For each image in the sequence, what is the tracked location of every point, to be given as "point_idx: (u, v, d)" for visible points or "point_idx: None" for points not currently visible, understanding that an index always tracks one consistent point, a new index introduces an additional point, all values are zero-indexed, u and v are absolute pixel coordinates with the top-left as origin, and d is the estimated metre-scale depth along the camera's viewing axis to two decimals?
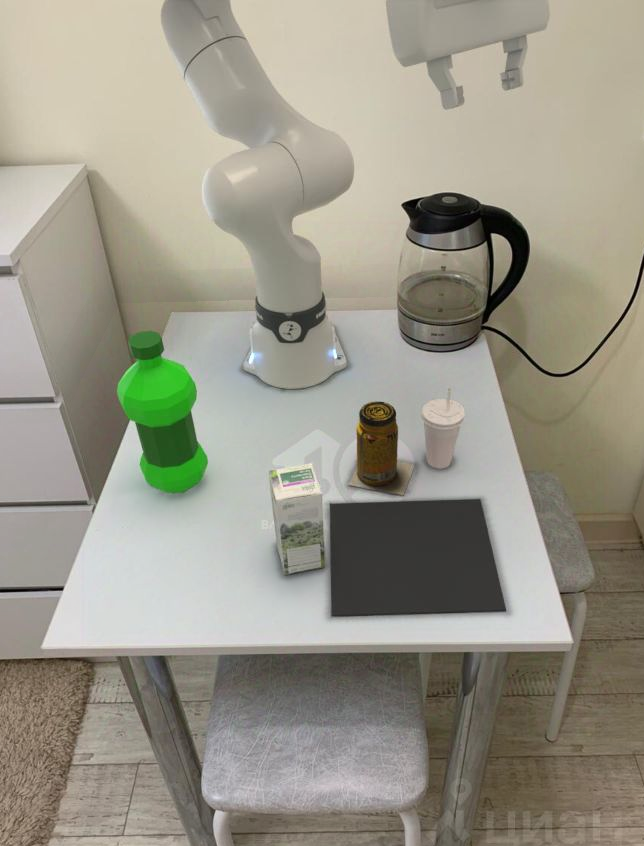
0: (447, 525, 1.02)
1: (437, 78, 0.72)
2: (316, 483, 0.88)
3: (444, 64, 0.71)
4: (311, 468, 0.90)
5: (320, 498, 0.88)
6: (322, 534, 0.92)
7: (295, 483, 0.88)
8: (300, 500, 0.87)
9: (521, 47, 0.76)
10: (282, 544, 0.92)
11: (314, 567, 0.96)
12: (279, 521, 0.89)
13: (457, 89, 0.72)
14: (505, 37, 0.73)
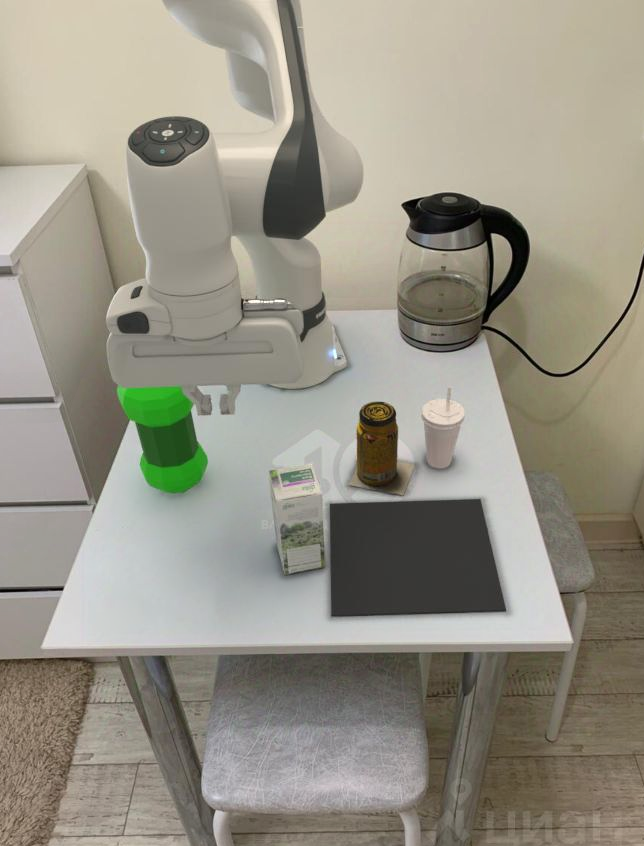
0: (447, 525, 1.02)
1: None
2: (316, 483, 0.88)
3: (186, 388, 0.78)
4: (311, 468, 0.90)
5: (320, 498, 0.88)
6: (322, 534, 0.92)
7: (295, 483, 0.88)
8: (300, 500, 0.87)
9: (230, 390, 0.78)
10: (282, 544, 0.92)
11: (314, 567, 0.96)
12: (279, 521, 0.89)
13: (201, 406, 0.80)
14: (229, 384, 0.77)
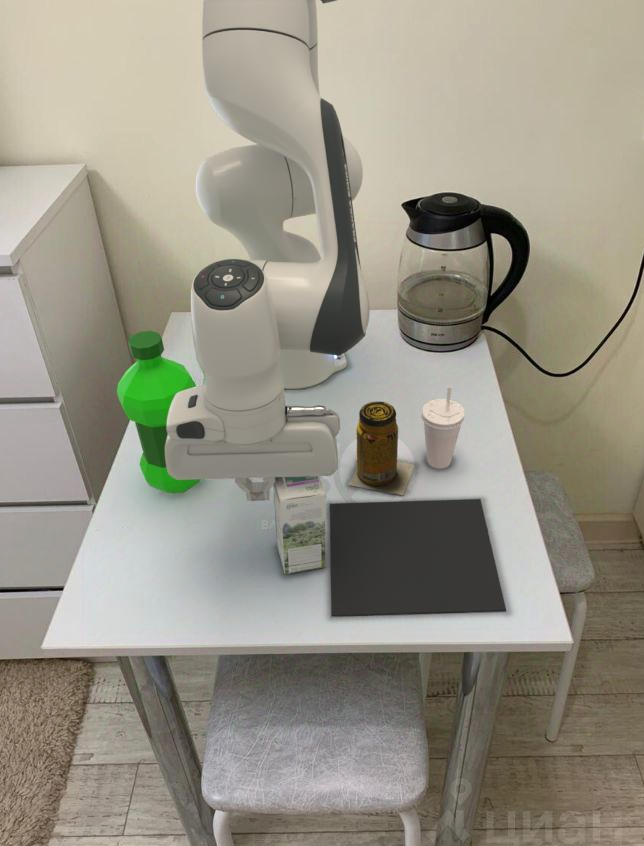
0: (447, 525, 1.02)
1: None
2: (320, 483, 0.88)
3: (238, 479, 0.87)
4: None
5: (324, 499, 0.88)
6: (324, 534, 0.92)
7: (299, 483, 0.88)
8: (304, 500, 0.87)
9: (266, 481, 0.87)
10: (284, 543, 0.92)
11: (314, 567, 0.96)
12: (282, 521, 0.89)
13: (251, 493, 0.89)
14: (272, 476, 0.86)
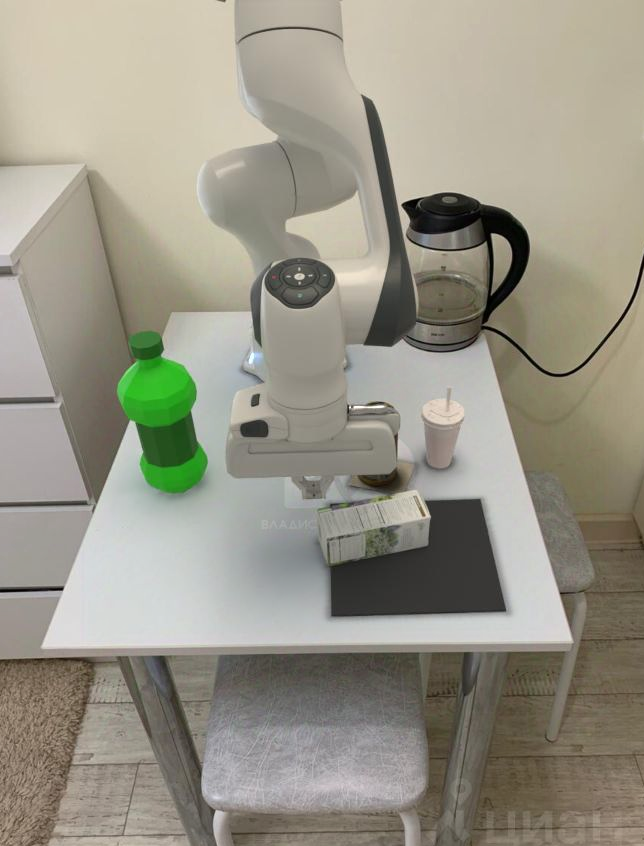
0: (447, 525, 1.02)
1: None
2: None
3: (295, 477, 0.87)
4: None
5: (422, 546, 0.99)
6: (376, 555, 0.98)
7: None
8: (425, 533, 0.97)
9: (324, 479, 0.87)
10: (372, 529, 0.94)
11: (331, 558, 0.96)
12: (403, 523, 0.95)
13: (307, 491, 0.89)
14: (331, 475, 0.86)
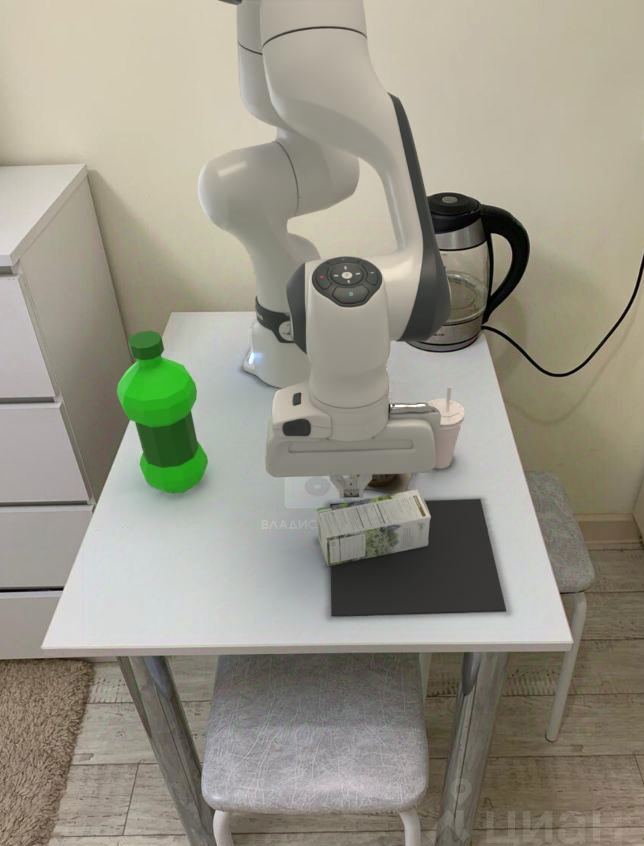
0: (447, 525, 1.02)
1: None
2: None
3: (334, 476, 0.87)
4: None
5: (422, 546, 0.99)
6: (376, 555, 0.98)
7: None
8: (425, 533, 0.97)
9: (363, 478, 0.87)
10: (372, 529, 0.94)
11: (331, 558, 0.96)
12: (403, 522, 0.95)
13: (344, 490, 0.89)
14: (370, 474, 0.86)
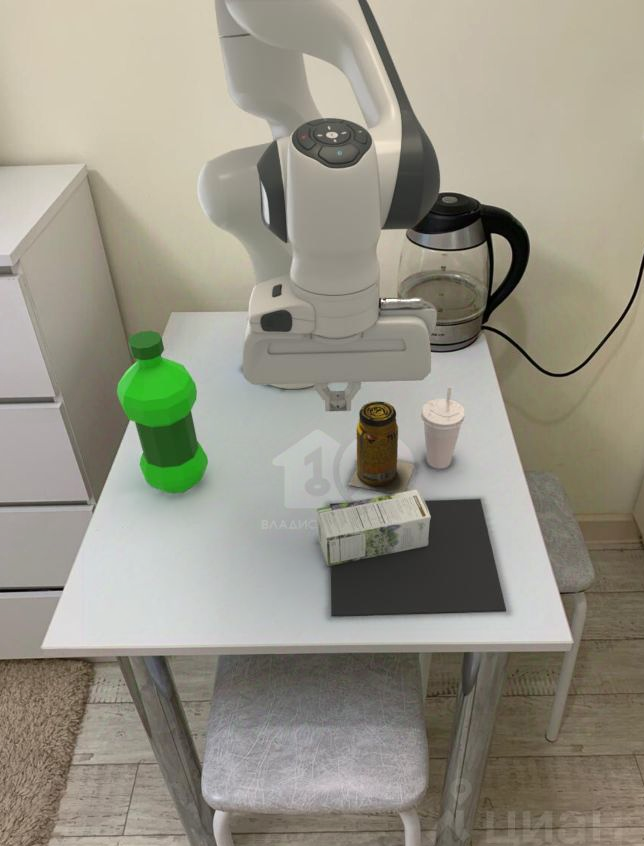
0: (447, 525, 1.02)
1: None
2: None
3: (318, 384, 0.79)
4: None
5: (422, 546, 0.99)
6: (376, 555, 0.98)
7: None
8: (425, 533, 0.97)
9: (350, 387, 0.79)
10: (372, 529, 0.94)
11: (331, 558, 0.96)
12: (403, 522, 0.95)
13: (330, 402, 0.81)
14: (358, 381, 0.78)
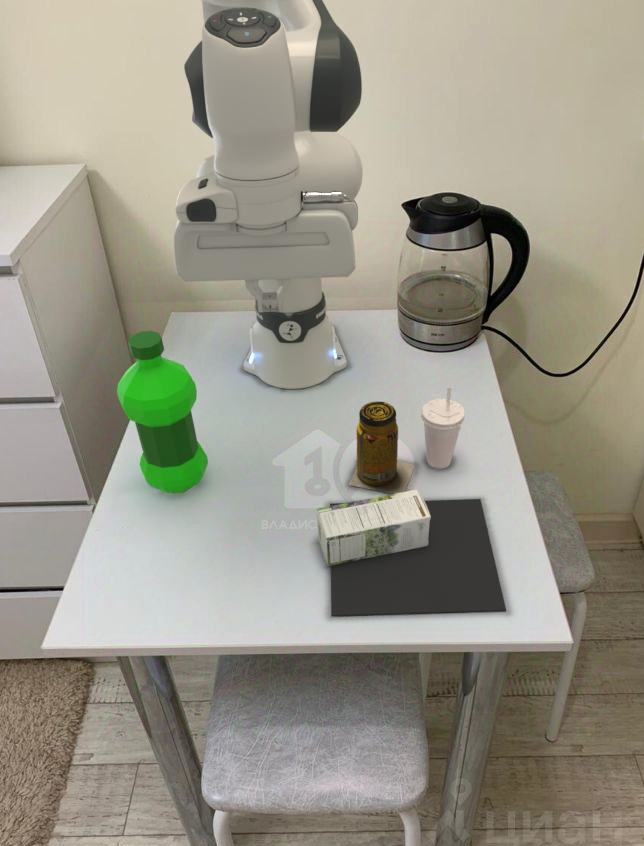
0: (447, 525, 1.02)
1: None
2: None
3: (249, 282, 0.83)
4: None
5: (422, 546, 0.99)
6: (376, 555, 0.98)
7: None
8: (425, 533, 0.97)
9: (280, 285, 0.83)
10: (372, 529, 0.94)
11: (331, 558, 0.96)
12: (403, 522, 0.95)
13: (262, 301, 0.84)
14: (286, 277, 0.81)
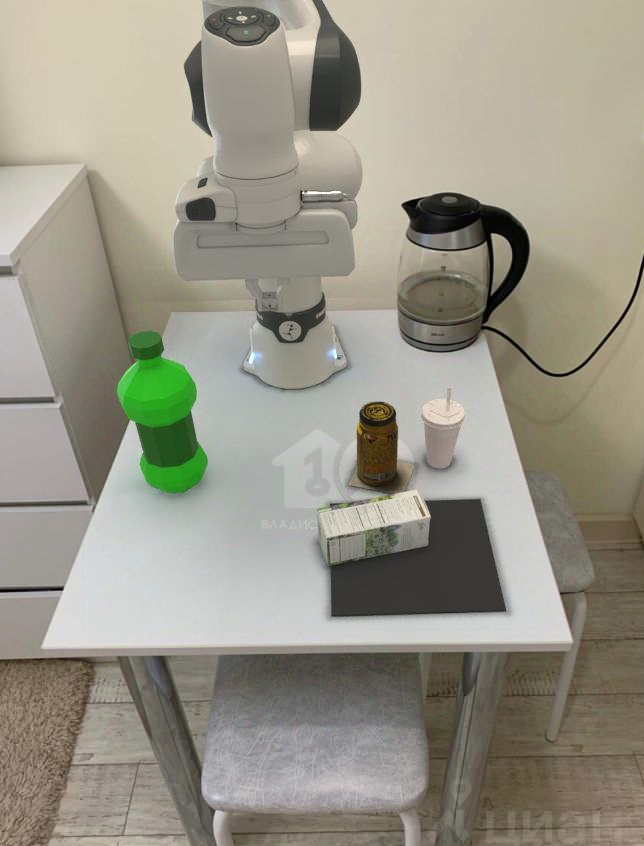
0: (447, 525, 1.02)
1: None
2: None
3: (249, 282, 0.83)
4: None
5: (422, 546, 0.99)
6: (376, 555, 0.98)
7: None
8: (425, 533, 0.97)
9: (280, 284, 0.83)
10: (372, 529, 0.94)
11: (331, 558, 0.96)
12: (403, 522, 0.95)
13: (262, 301, 0.84)
14: (286, 276, 0.81)
